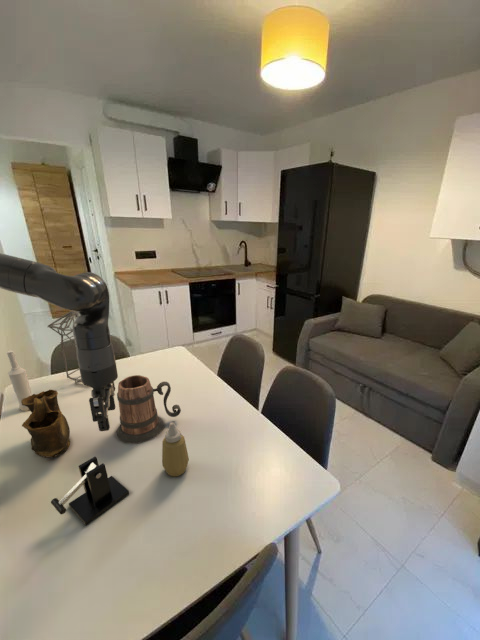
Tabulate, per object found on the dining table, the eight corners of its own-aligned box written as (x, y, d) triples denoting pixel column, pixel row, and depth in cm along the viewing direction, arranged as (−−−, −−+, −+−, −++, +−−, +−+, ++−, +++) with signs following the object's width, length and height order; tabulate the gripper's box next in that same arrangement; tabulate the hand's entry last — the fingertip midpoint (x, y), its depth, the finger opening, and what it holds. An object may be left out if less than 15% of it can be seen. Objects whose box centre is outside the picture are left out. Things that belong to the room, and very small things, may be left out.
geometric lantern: (113, 376, 144) (101, 308, 130) (89, 392, 130) (73, 317, 116) (86, 372, 147) (72, 304, 133) (60, 387, 133) (40, 313, 119)
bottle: (26, 412, 115) (6, 355, 105) (17, 409, 117) (-3, 352, 107) (39, 405, 119) (22, 350, 110) (30, 402, 121) (13, 347, 111)
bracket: (86, 525, 74) (75, 489, 69) (69, 506, 79) (58, 471, 73) (129, 493, 83) (122, 459, 78) (112, 478, 88) (105, 445, 83)
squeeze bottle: (190, 459, 96) (187, 414, 89) (188, 478, 89) (185, 431, 82) (165, 461, 95) (159, 416, 88) (161, 481, 88) (155, 433, 80)
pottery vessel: (78, 464, 92) (64, 412, 84) (35, 480, 86) (16, 425, 78) (68, 423, 110) (56, 377, 102) (33, 433, 104) (17, 385, 96)
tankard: (116, 448, 99) (106, 398, 91) (116, 420, 113) (107, 375, 105) (185, 431, 109) (181, 385, 101) (177, 407, 123) (173, 365, 115)
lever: (63, 516, 70) (57, 512, 69) (54, 505, 73) (47, 501, 71) (104, 472, 77) (99, 468, 75) (95, 463, 79) (89, 459, 78)
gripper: (86, 350, 72) (97, 405, 79) (69, 378, 60) (84, 440, 66) (119, 349, 74) (127, 402, 81) (109, 375, 62) (120, 435, 68)
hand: (108, 419), depth 74 cm, fingers open, 8 cm apart
